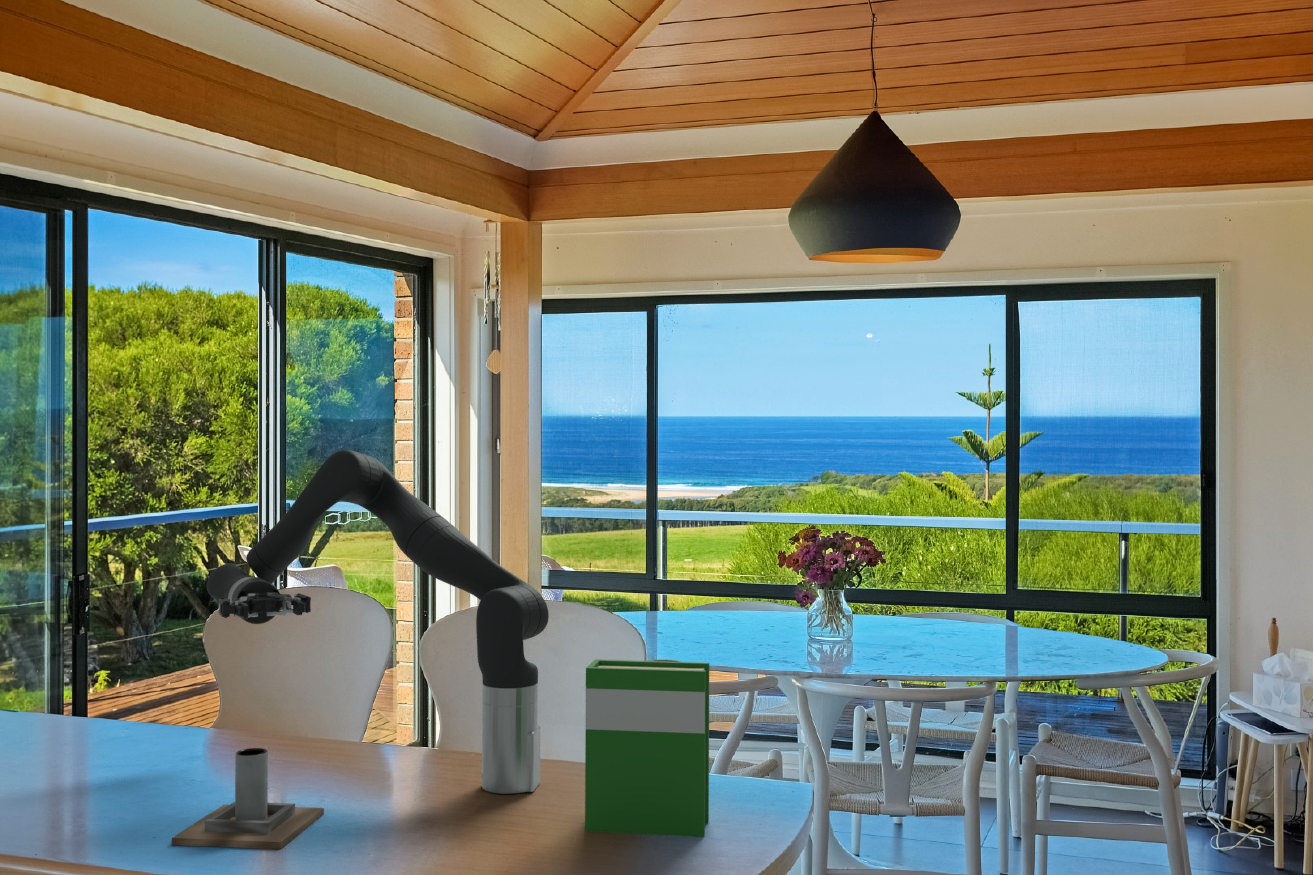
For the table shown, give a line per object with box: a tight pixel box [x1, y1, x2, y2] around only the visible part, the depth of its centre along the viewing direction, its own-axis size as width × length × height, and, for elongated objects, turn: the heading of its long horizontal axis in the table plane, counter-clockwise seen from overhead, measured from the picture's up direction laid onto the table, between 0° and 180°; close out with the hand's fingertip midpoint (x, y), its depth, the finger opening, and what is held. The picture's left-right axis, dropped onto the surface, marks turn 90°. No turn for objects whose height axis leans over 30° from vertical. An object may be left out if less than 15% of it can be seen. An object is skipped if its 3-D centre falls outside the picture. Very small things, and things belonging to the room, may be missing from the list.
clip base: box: [171, 801, 325, 850], centre depth 175 cm, size 16×16×2 cm
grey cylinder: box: [234, 747, 269, 821], centre depth 175 cm, size 4×4×10 cm
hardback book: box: [584, 659, 710, 838], centre depth 177 cm, size 18×7×24 cm, turn 83°
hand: (273, 610), depth 192 cm, fingers open, 8 cm apart
